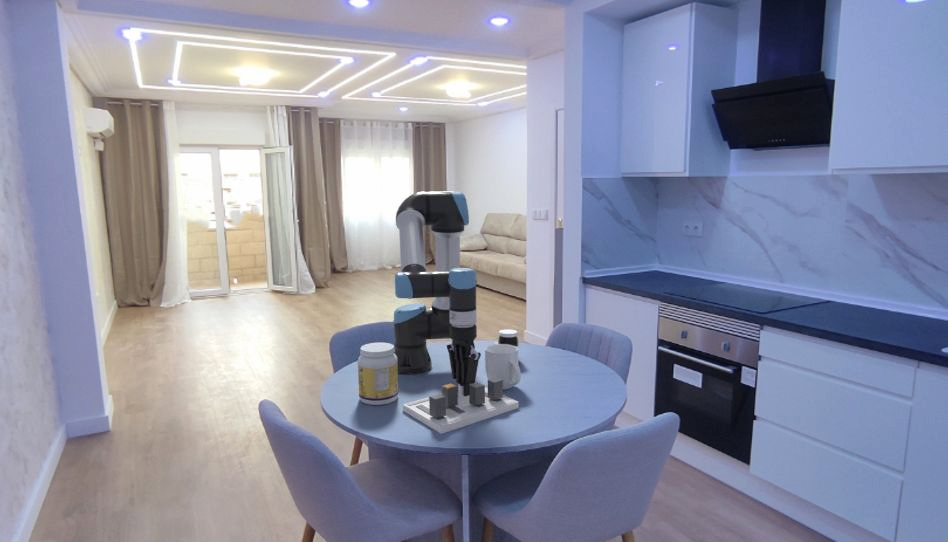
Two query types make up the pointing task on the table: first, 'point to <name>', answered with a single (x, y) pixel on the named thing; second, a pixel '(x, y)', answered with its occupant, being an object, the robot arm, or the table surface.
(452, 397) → the breaker
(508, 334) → the spread jar
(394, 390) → the supplement tub
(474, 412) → the panel
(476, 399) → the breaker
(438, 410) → the breaker
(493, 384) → the breaker
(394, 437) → the table surface
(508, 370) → the mug
